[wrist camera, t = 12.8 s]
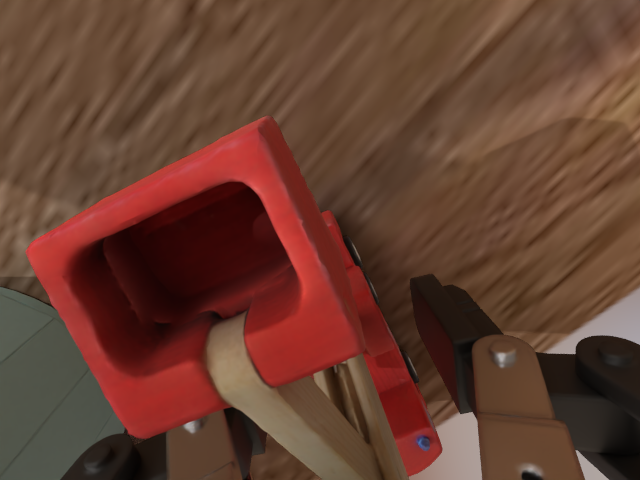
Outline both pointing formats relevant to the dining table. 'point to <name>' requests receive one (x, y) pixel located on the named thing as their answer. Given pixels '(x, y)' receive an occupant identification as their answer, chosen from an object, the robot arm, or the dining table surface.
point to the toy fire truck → (238, 311)
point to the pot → (45, 393)
